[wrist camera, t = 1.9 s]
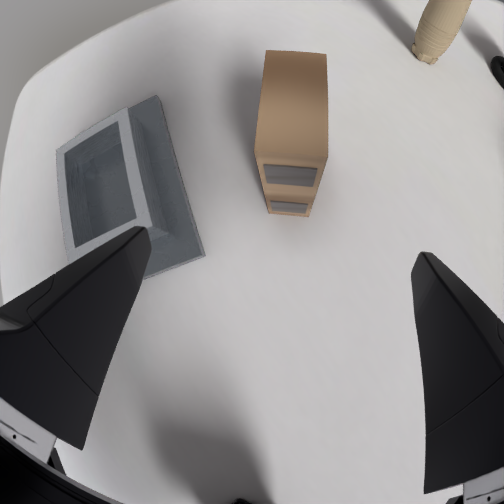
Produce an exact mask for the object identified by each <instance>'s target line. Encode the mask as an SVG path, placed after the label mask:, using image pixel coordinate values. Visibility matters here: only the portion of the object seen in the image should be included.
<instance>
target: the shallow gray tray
mask: <svg viewBox="0 0 504 504" xmlns="http://www.w3.org/2000/svg"><path fill="white" fill-rule="evenodd" d="M56 164H57V181H58V193H59V203H60V212H61V220H62V227H63V234H64V240H65V246H66V252H67V257H68V262H69V264H71V263H72V262H74V261H75V260H77V259H79V258H80V257H82V256H84V255H85V254H87V253H89V252H90V251H92V250H94V249H95V248H97V247H99V246H100V245H102V244H104V243H105V242H107V241H109V240H111V239H112V238H114V237H116V236H118V235H119V234H121V233H123V232H125V231H126V230H128V229H130V228H132V227H134V226H144V227H146V228H147V230H148V234H149V238H150V242H151V246H152V252H151V255H150V258H149V261H148V264H147V267H146V270H145V273H144V277H143V280H144V279H147V278H149V277H152V276H155V275H157V274H160V273H162V272H165V271H168V270H170V269H173V268H176V267H178V266H181V265H184V264H186V263H189V262H191V261H194V260H197V259H199V258H202V257H205V256H206V255H205V252H204V249H203V246H202V243H201V240H200V237H199V234H198V231H197V227H196V224H195V221H194V218H193V215H192V211H191V208H190V205H189V202H188V198H187V195H186V192H185V188H184V185H183V182H182V178H181V175H180V171H179V168H178V164H177V161H176V157H175V154H174V150H173V147H172V143H171V139H170V136H169V132H168V128H167V125H166V121H165V117H164V113H163V110H162V106H161V102H160V100H159V98H158V97H157V95H155V96H153V97H151V98H149V99H147V100H145V101H143V102H141V103H139V104H137V105H135V106H133V107H131V108H128V107H125V108H123V109H121V110H120V111H118V112H116V113H114V114H112V115H111V116H109V117H107V118H105V119H104V120H102V121H100V122H99V123H97V124H95V125H94V126H92V127H90V128H89V129H87V130H86V131H84V132H82V133H81V134H79V135H78V136H76V137H75V138H73V139H72V140H70V141H69V142H67V143H66V144H64V145H63V146H61V147H60V148H58V149H57V150H56Z"/></svg>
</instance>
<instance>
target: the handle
mask: <svg viewBox="0 0 504 504" xmlns="http://www.w3.org/2000/svg"><path fill="white" fill-rule="evenodd" d="M471 1H472V0H429V2H428V4H427V6H426V7H425V9H424V11H423V14H422V16H421V19H420V21H419V24H418V27H417V30H416V34H415V43H413V45H412V52H413V53H414V54H415V55H416V56H417V58H418V59H419V60H420V61H424V62H427V63H429V64H434V63H435V62H436V61H437V60H438V57H439V56H441V55H442V54H443V53H444V52H445V51H446V50H447V48H448V47H449V46H450V44H451V43H452V41H453V40H454V38H455V36H456V35H457V33H458V31H459V29H460V27H461V24H462V22H463V20H464V17H465V15H466V13H467V11H468V8H469V6H470V4H471Z"/></svg>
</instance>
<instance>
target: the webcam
mask: <svg viewBox="0 0 504 504" xmlns="http://www.w3.org/2000/svg"><path fill="white" fill-rule="evenodd" d="M501 66H503V67H504V57H501V56H495V57H494V58H493V59H492V62H491V67H492V70H493V73H494V75H495V77H496V78H497V80H498V82H499V83H500V84H501V86H502V87H503V88H504V73H503V71H502V69H501Z"/></svg>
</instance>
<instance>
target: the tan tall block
mask: <svg viewBox="0 0 504 504" xmlns="http://www.w3.org/2000/svg"><path fill="white" fill-rule="evenodd" d="M254 154H255V158H256V162H257V166H258V170H259V174H260V178H261V182H262V186H263V190H264V194H265V199H266V203H267V207H268V211H269V213H270V214H282V215H293V216H304V217H309V214H310V211H311V208H312V205H313V202H314V199H315V196H316V193H317V190H318V186H319V183H320V180H321V177H322V174H323V171H324V168H325V165H326V161H327V158H328V83H327V58H326V54H320V53H310V52H296V51H276V50H266V54H265V62H264V70H263V79H262V87H261V95H260V103H259V112H258V120H257V129H256V137H255V146H254Z"/></svg>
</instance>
